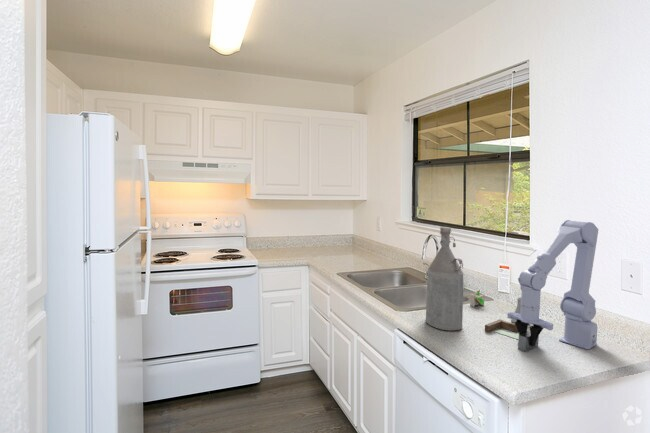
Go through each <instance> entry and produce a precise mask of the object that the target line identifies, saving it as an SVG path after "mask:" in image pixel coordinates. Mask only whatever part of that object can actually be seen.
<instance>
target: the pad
mask: <svg viewBox="0 0 650 433" xmlns="http://www.w3.org/2000/svg"><path fill="white" fill-rule="evenodd" d="M493 332H494V333H495V334H496V333H497V334H500V335H502V336H506V337H509V338H511V339H515V340H519V333H518V332H515V333H511V332H509V331H505V330H502V329H496V330H493Z"/></svg>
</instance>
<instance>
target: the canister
mask: <svg viewBox="0 0 650 433" xmlns="http://www.w3.org/2000/svg"><path fill="white" fill-rule="evenodd" d="M439 229H440V230H439V235H440V236H441V237H440V240H439V244H440V245H441V246H440V248H439V250H438V252H437V253H436V255H435V257H434V259H432V262H431V264H430V265H429V267H427V278H426V279H427V281H426V282H427V283H426V300H425V301H426V303H425V304H426V305H425V322H426V324H428V325H429V326H431V327H433V328H435V329H439V330H442V331H458V330H461V329H463V320H464V319H463V315H464V314H463V313H464V312H463V309H464V307H463V306H464V304H463V303H464V271H463V270H462V269H463V268H464V263H463V259H461V258H456V257H455V255H454V253H453V252H452V250H451V248H450V244H451V243H452V248H456V242H455V241H456V239H455V237H453V236H450V234H451V232H452V227H448V226H441V227H440V228H439ZM452 233H453V232H452ZM450 238H451V239H453V242H452V241H451V239H450Z"/></svg>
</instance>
